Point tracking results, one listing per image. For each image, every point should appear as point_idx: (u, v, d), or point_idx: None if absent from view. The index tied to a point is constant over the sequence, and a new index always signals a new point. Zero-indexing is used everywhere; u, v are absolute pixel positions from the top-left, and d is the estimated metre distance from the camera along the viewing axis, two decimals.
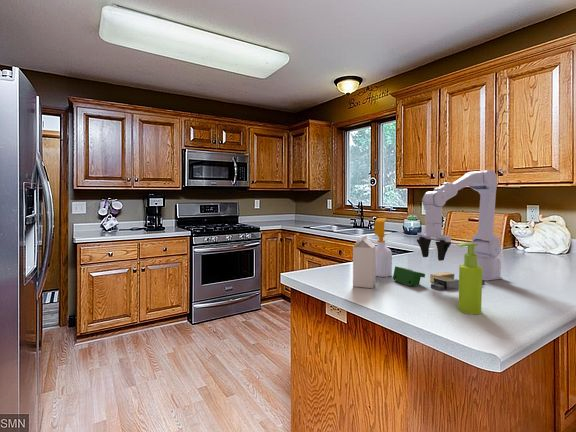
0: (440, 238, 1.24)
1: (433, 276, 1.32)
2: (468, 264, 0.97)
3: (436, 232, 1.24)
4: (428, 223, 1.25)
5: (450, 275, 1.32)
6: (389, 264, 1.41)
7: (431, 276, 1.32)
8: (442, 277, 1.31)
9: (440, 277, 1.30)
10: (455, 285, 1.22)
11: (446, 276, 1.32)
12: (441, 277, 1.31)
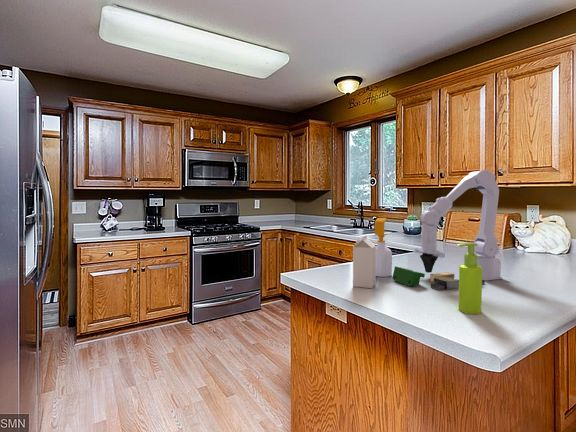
0: (435, 254, 1.36)
1: (433, 276, 1.32)
2: (468, 264, 0.97)
3: (431, 248, 1.36)
4: (424, 240, 1.38)
5: (450, 275, 1.32)
6: (389, 264, 1.41)
7: (431, 276, 1.33)
8: (442, 277, 1.31)
9: (440, 277, 1.30)
10: (455, 285, 1.22)
11: (446, 276, 1.32)
12: (441, 277, 1.31)
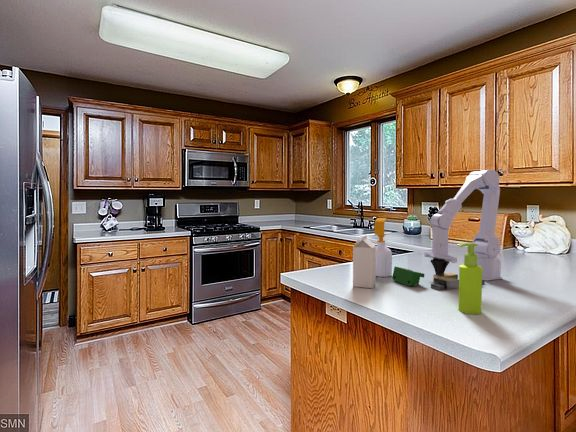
0: None
1: (436, 277, 1.30)
2: (468, 264, 0.97)
3: (443, 253, 1.31)
4: (435, 244, 1.32)
5: (453, 276, 1.31)
6: (389, 264, 1.41)
7: (434, 277, 1.31)
8: (445, 278, 1.29)
9: (443, 278, 1.29)
10: (455, 285, 1.22)
11: (450, 277, 1.30)
12: (444, 278, 1.29)
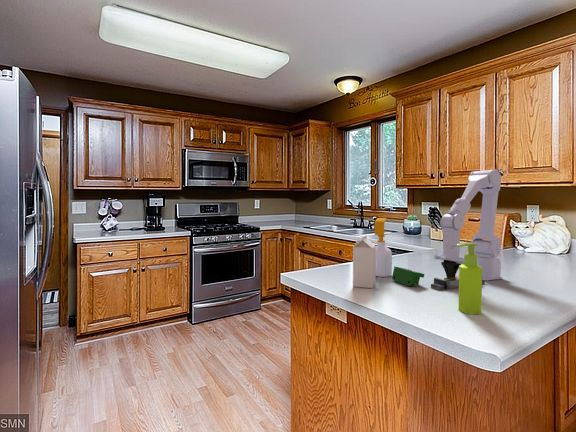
0: (458, 261, 1.26)
1: None
2: (468, 264, 0.97)
3: (454, 255, 1.26)
4: (446, 246, 1.27)
5: None
6: (389, 264, 1.41)
7: None
8: None
9: None
10: (455, 285, 1.22)
11: None
12: None
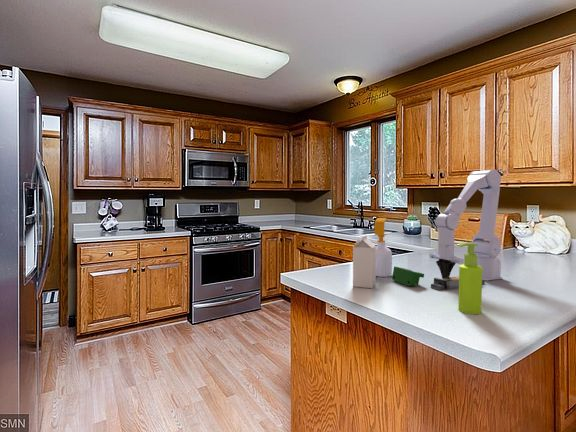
0: (453, 260, 1.28)
1: None
2: (468, 264, 0.97)
3: (449, 254, 1.28)
4: (441, 245, 1.30)
5: None
6: (389, 264, 1.41)
7: None
8: None
9: None
10: (455, 285, 1.22)
11: None
12: None
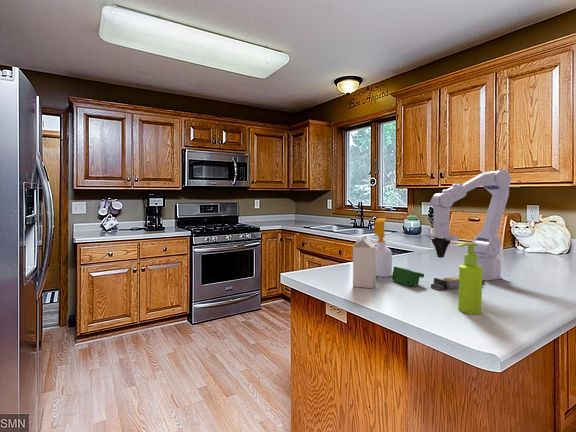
0: (448, 238, 1.30)
1: None
2: (468, 264, 0.97)
3: (444, 232, 1.31)
4: (436, 223, 1.32)
5: None
6: (389, 264, 1.41)
7: None
8: None
9: None
10: (455, 285, 1.22)
11: None
12: None
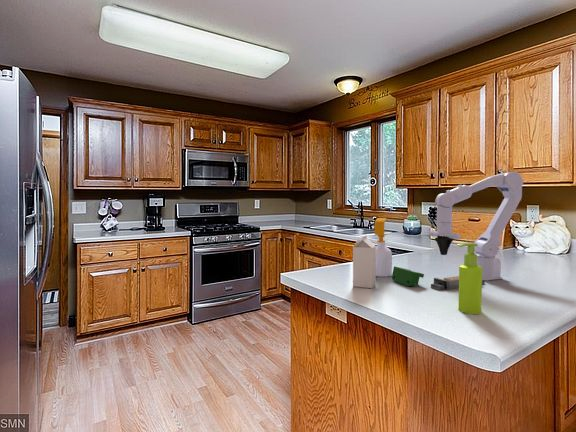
0: (450, 236, 1.36)
1: None
2: (468, 264, 0.97)
3: (447, 231, 1.36)
4: (439, 222, 1.38)
5: None
6: (389, 264, 1.41)
7: None
8: None
9: None
10: (455, 285, 1.22)
11: None
12: None
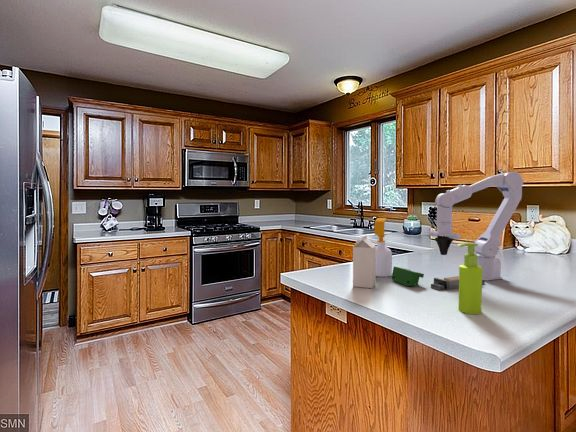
0: (450, 236, 1.36)
1: None
2: (468, 264, 0.97)
3: (447, 231, 1.36)
4: (439, 222, 1.38)
5: None
6: (389, 264, 1.41)
7: None
8: None
9: None
10: (455, 285, 1.22)
11: None
12: None
